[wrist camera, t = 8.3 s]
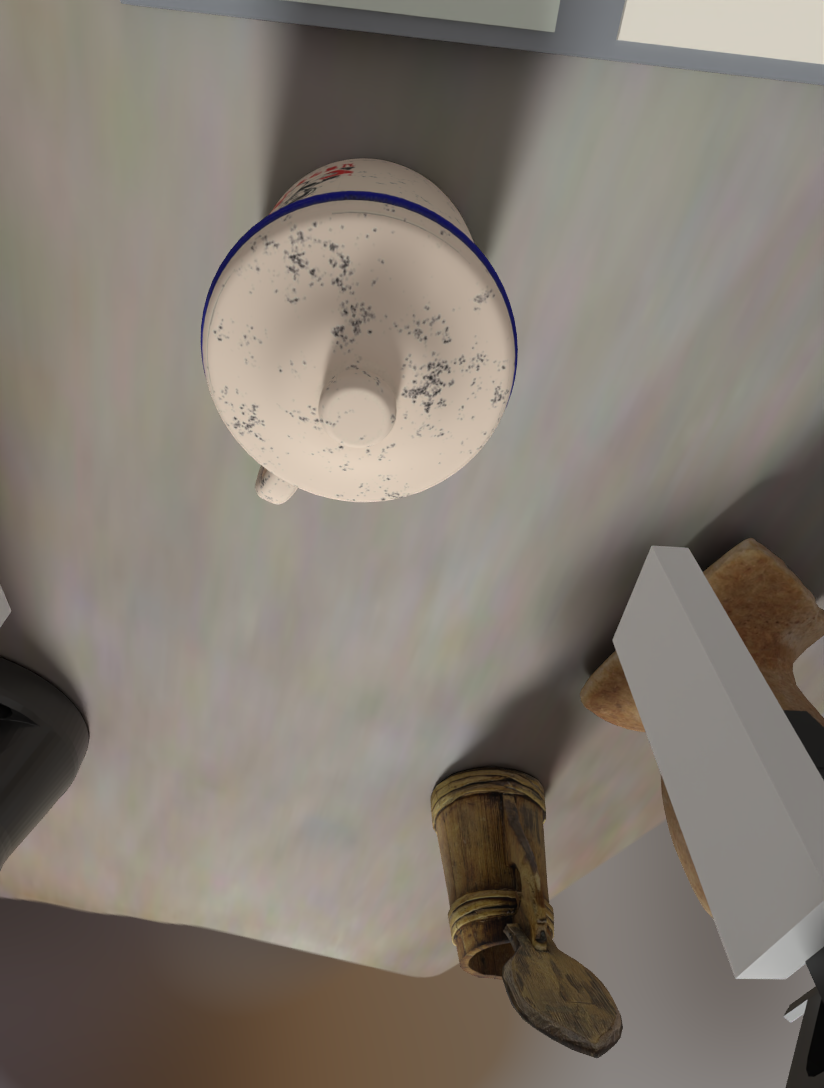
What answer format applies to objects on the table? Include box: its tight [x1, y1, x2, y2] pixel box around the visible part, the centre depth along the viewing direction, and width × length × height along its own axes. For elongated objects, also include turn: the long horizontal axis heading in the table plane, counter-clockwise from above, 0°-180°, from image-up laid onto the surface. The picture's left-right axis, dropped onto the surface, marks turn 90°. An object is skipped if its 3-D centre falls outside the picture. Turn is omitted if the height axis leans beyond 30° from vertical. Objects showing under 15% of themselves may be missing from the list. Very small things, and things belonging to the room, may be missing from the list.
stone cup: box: [580, 538, 824, 919], centre depth 33 cm, size 15×12×15 cm
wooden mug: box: [431, 767, 623, 1058], centre depth 40 cm, size 9×14×18 cm, turn 164°
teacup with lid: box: [201, 158, 518, 504], centre depth 21 cm, size 12×9×12 cm
